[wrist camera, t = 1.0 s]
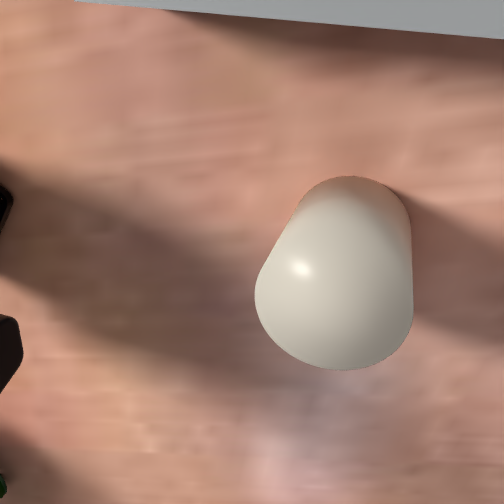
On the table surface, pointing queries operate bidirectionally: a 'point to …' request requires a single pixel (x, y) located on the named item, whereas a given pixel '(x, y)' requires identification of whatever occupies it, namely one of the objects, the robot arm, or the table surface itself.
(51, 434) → the table surface
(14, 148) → the table surface
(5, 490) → the flower
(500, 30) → the wall
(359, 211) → the cream rounded cone
